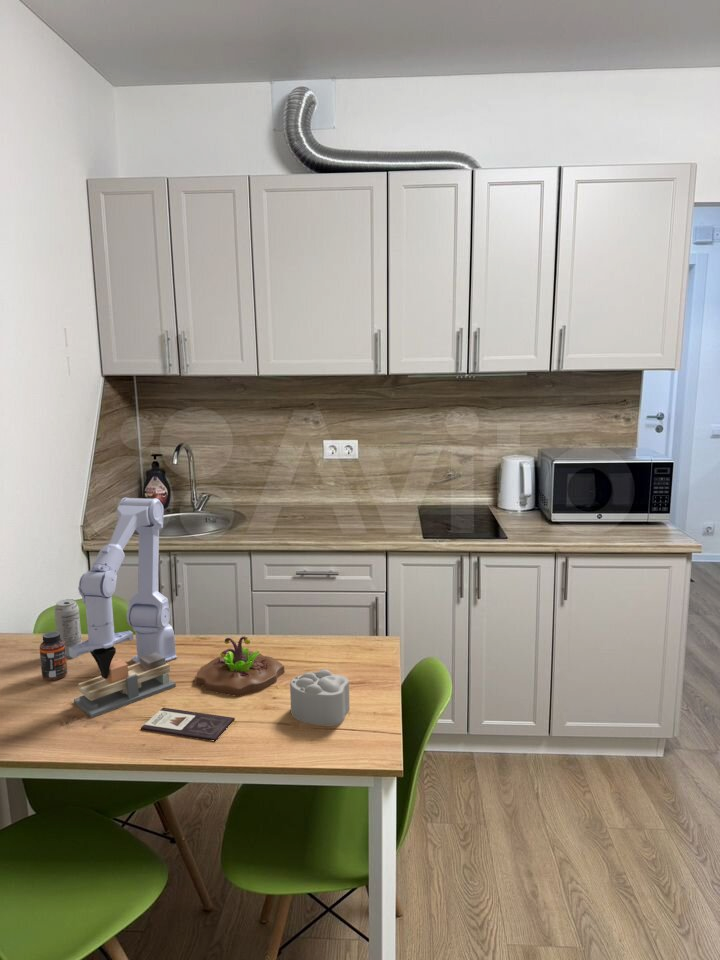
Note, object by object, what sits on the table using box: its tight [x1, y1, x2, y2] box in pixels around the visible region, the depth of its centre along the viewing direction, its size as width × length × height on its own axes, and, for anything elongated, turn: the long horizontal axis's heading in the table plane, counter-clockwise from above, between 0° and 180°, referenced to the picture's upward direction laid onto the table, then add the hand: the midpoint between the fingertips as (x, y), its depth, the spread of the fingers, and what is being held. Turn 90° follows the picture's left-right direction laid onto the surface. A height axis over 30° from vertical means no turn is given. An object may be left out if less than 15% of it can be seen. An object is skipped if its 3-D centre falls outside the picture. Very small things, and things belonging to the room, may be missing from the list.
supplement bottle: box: [39, 631, 68, 681], centre depth 179 cm, size 6×6×11 cm
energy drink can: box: [54, 598, 83, 660], centre depth 191 cm, size 6×6×15 cm
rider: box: [106, 658, 129, 684], centre depth 168 cm, size 4×4×4 cm
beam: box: [77, 652, 171, 701], centre depth 170 cm, size 20×6×5 cm, turn 135°
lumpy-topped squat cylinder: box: [289, 668, 351, 727], centre depth 160 cm, size 10×13×9 cm
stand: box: [73, 672, 177, 719], centre depth 170 cm, size 21×10×6 cm, turn 133°
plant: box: [195, 635, 286, 697], centre depth 178 cm, size 20×20×11 cm
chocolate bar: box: [140, 707, 236, 742], centre depth 156 cm, size 9×1×18 cm
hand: (104, 677), depth 166 cm, fingers closed
